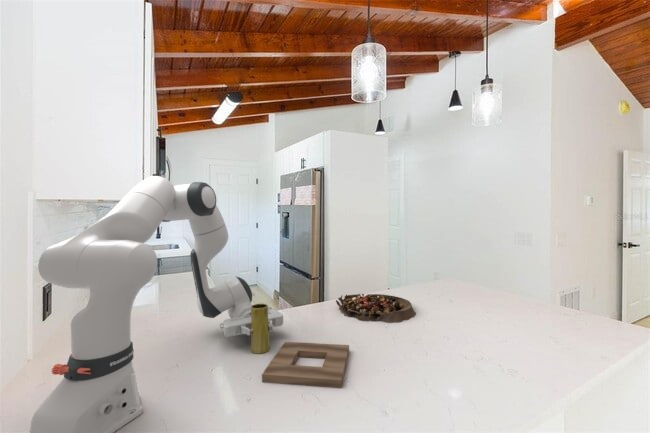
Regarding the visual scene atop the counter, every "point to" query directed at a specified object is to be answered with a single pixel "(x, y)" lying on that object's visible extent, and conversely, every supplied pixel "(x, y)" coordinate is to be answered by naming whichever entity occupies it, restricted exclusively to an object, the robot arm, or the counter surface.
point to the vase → (259, 329)
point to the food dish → (376, 308)
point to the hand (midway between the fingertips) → (261, 330)
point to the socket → (323, 376)
